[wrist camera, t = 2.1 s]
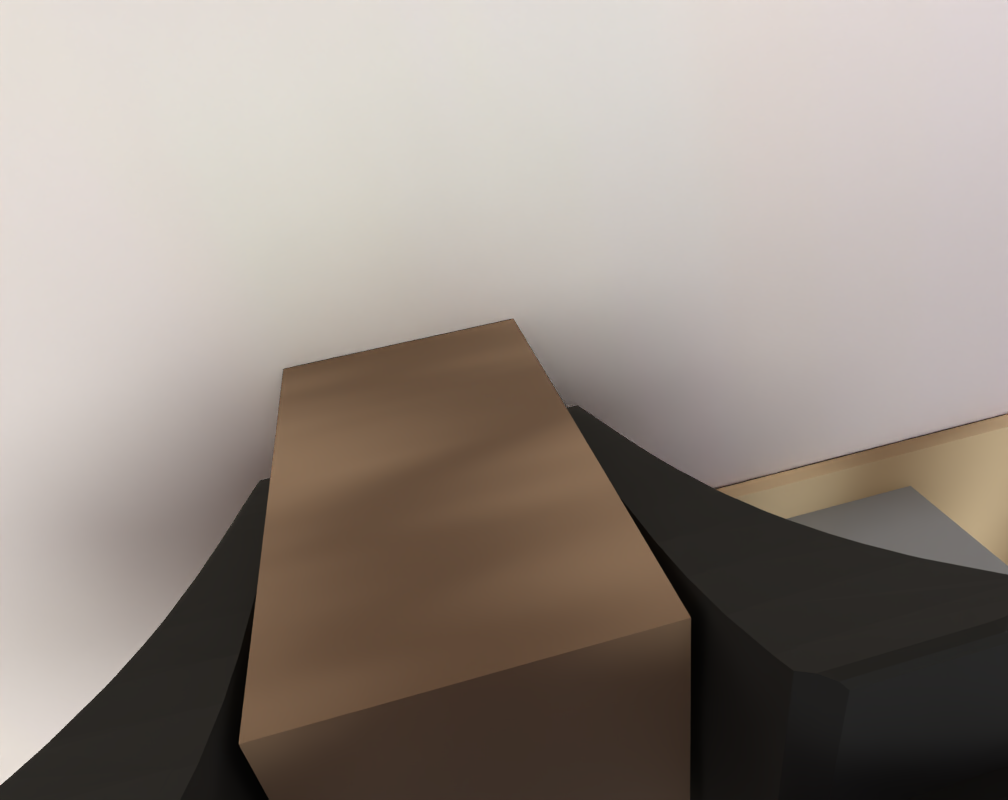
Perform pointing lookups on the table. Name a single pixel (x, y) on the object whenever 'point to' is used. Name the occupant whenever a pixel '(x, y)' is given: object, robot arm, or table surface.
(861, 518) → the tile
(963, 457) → the mat
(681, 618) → the block
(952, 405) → the table surface
